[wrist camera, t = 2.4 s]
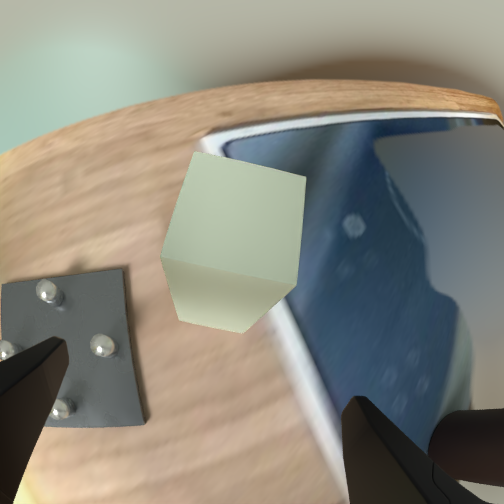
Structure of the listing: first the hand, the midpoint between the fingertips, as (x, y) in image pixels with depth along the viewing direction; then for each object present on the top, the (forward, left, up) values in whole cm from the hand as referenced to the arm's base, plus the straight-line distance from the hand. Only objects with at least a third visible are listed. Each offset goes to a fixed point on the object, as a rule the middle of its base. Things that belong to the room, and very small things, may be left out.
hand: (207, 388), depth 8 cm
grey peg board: (-7, +8, -12) cm, 16 cm away
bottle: (+9, -22, -12) cm, 27 cm away
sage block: (+5, +3, -12) cm, 14 cm away
